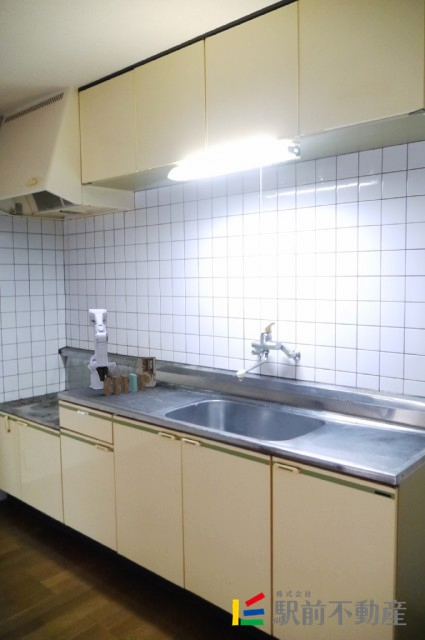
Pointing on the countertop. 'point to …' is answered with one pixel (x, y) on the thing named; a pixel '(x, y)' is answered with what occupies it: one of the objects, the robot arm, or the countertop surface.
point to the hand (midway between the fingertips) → (102, 381)
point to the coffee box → (148, 370)
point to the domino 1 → (107, 386)
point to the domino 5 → (141, 381)
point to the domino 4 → (133, 382)
